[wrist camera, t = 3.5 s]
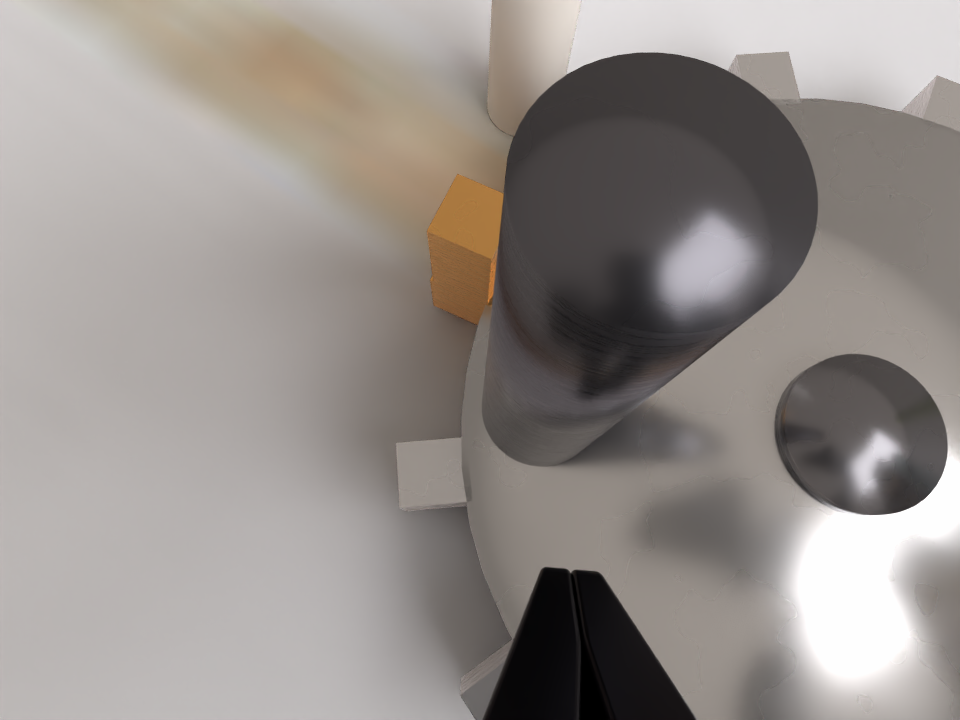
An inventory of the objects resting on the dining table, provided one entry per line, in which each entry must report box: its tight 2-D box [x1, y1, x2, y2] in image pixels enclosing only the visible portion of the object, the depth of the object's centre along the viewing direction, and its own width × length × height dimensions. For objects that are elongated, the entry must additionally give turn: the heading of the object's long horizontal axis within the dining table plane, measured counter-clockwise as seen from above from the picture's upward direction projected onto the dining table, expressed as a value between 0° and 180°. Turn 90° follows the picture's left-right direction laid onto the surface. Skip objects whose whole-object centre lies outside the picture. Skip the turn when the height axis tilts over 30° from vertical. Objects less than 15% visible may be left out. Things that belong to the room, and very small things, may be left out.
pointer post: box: [487, 0, 582, 136], centre depth 18 cm, size 2×2×9 cm
